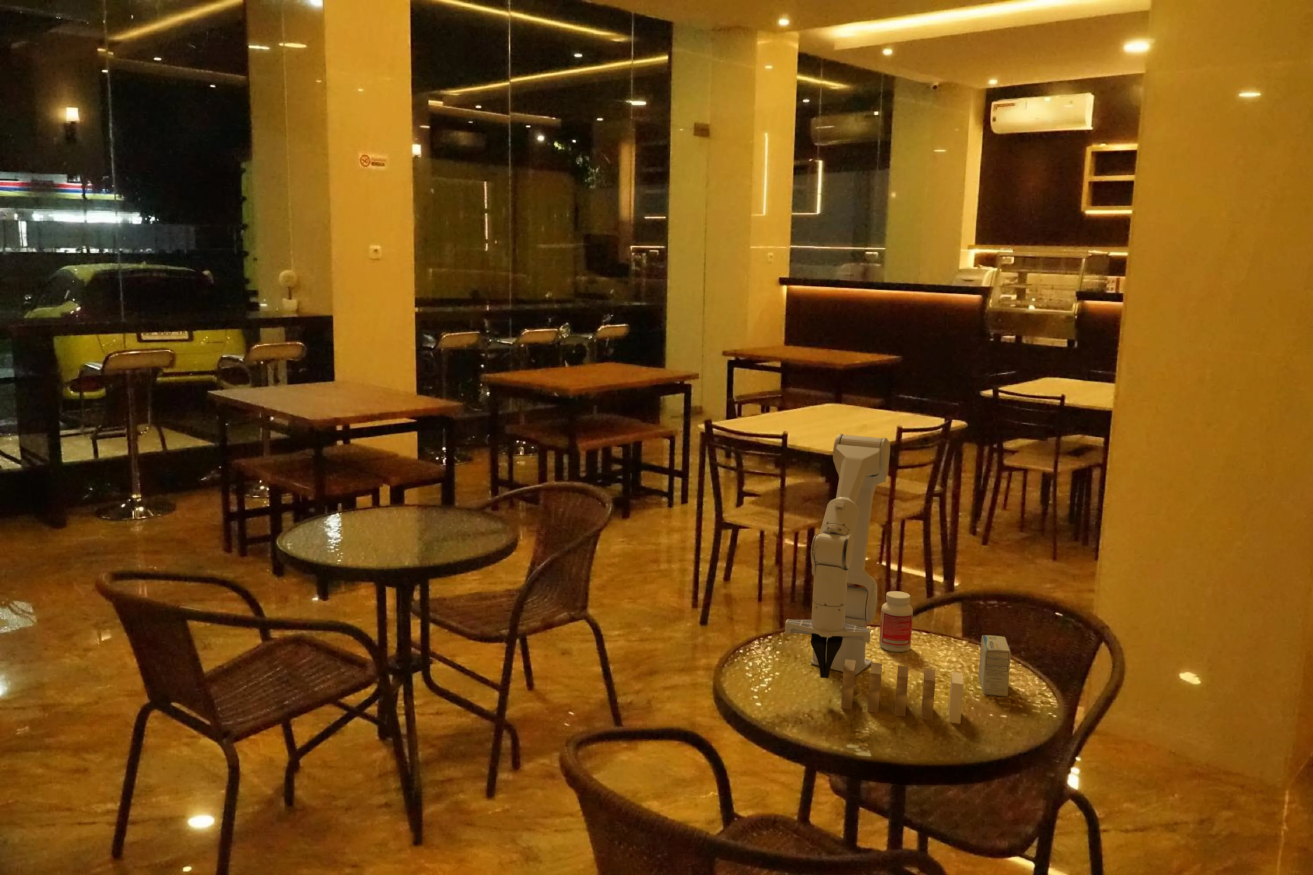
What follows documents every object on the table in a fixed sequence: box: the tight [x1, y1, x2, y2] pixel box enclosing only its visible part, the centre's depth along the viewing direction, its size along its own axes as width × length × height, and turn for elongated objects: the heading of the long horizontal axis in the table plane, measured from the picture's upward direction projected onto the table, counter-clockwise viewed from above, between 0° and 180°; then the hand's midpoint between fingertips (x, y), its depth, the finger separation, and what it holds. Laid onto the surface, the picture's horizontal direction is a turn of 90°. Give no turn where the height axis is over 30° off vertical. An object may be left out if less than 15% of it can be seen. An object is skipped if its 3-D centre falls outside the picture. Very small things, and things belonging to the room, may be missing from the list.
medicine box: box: [978, 634, 1012, 697], centre depth 189 cm, size 8×4×9 cm, turn 168°
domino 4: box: [921, 668, 936, 721], centre depth 178 cm, size 2×5×7 cm, turn 165°
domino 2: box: [867, 661, 883, 713], centre depth 180 cm, size 2×5×7 cm, turn 166°
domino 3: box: [894, 664, 909, 717], centre depth 179 cm, size 2×5×7 cm, turn 165°
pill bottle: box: [878, 590, 914, 653], centre depth 208 cm, size 6×6×11 cm
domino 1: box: [840, 659, 856, 710], centre depth 181 cm, size 2×5×7 cm, turn 166°
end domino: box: [948, 671, 964, 725], centre depth 177 cm, size 2×5×7 cm, turn 166°
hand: (824, 675), depth 182 cm, fingers closed
